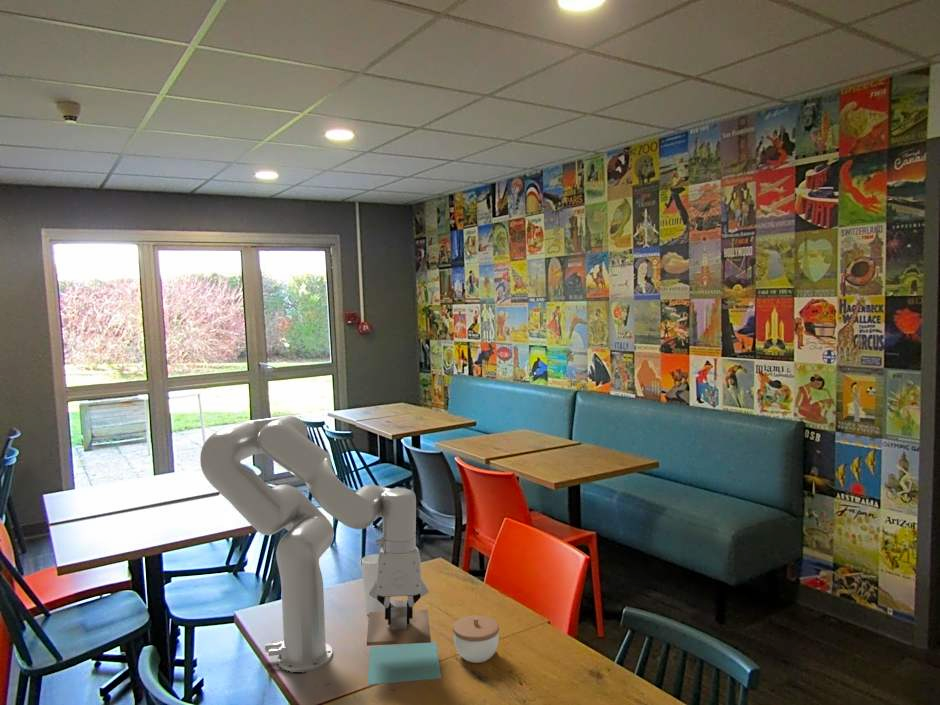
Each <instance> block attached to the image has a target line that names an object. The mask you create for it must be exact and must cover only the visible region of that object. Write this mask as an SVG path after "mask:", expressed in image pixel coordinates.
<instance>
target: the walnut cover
mask: <svg viewBox="0 0 940 705" xmlns="http://www.w3.org/2000/svg"><path fill="white" fill-rule="evenodd" d="M407 600H408V599H405V600H404V599H403V600H390V603H391V624H390V625H388V620H385V612H369V615H368V620H367V621H368V622H367V632H366V634H367V635H366V646H367V647H368V646H370V647H373V646H389V645H401V644H413V643H431V642H432V636H431V628H430V621H429V612H428V609H417V610H416V609H415V610H414V609H413V618H412V619H410V624H407Z"/></svg>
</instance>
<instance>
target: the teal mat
mask: <svg viewBox="0 0 940 705" xmlns="http://www.w3.org/2000/svg"><path fill="white" fill-rule="evenodd" d="M441 678H442V675H441V668H440V661H439V652H438V645H437V641H431V643H413V644H393V645H376V646H370V647H369V660H368V674H367V686H369V685H371V686H372V685H381V684H392V683H403V682H404V683H405V682H414V681H425V680H436V679H437V680H438V679H441Z"/></svg>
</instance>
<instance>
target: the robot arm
mask: <svg viewBox="0 0 940 705" xmlns="http://www.w3.org/2000/svg"><path fill="white" fill-rule="evenodd" d="M308 434H309V433H308V428H307V425H306V424H305V422H304V421H303V420H301V419H300V418H299V417H296V416H293V415H284V416H277V417H271V418H269V417H268V418H263V419H254V420H246V421H243V422H239V423H236V424H234V425H231V426H227V427H225V428H222V429H220V430H218V431H215V433H213V434H211V435H210V436H209V437H208V438H207V439H206V440H205V442H204V443H203V446H202V448H201V451H200V458H199V460H200V467H201V471H202V473H203V475H204V477H205V479H206V480H207V481H208V482H209V484H210V485H211V486H212V487H213V488H214V489H215V490H217V491H218V492H219V493H220V494H221V495H222V496H223V497H225V499H227V500H226V501H229V503H230V504H231V506H233V507H234V509H236V511H237V512H239V514H240V515H241V516H242V517H243V518H244V519H245V521H247V522H248V523H249V524H250V525H251V527H253V528H254V530H255V531H257V532H258V533H260V534H261V535H264V536H271V535H275V534H277V533H279V532H280V531H281V530H283V529H285V530H286V531H287V532H286V533H285V534H283V536H282V537H281V539H280V540H279V541H278V544H277V548H276V551H275V552H276V556H275V557H276V563H277V568H278V572H279V577H280V578H279V579H280V587H281V588H280V590H281V604H282V606H281V608H282V629H283V632H282V633H283V640H279V642H268V643H267V642H266V643H265V645H264V652H265V653H268V656H269V657H274V656H277V665H278V664H279V665H278V667H279V666H280V667H281V668H282V670H283V669H284V670H283V671H285V670H287V671H286V672H288V671H290V672H289V673H293V672H302V673H307V672H309V671H313V670H316V669H318V668H321V667H323V666H325V665H326V664H327V663H329V661H331V660H332V658H333V655H334V653H333V652H334V651H333V650H334V649H333V647H332V646H331V645H330V644H329V643H326V621H325V620H326V618H325V616H326V615H325V599H324V597H325V596H324V582H323V581H324V580H323V574H322V571H321V567H320V558H321V557H322V556H323V555H324V553H326V552H327V550H328V549H329V548H330V547H331V545H332V544H333V543H334V542H333V541H334V537H335V532H334V531H335V530H334V528H333V525H332V523H331V521H330V520H329V519H328V518H327V517H326V516H325V515H324V513H323V512H321V511H320V509H319V508H318V507H317V506H316V505H315V504H314V503H313V502H312V501H311V500H310V499H309V498H308V497H307V495H305V494H304V493H303V492H302V491H301V490H299V489H298V488H297V487H295V486H292V485H289V484H278V485H275V486H273V487H270V486H269V485H268V484H267V483H266V482H265V481H264V480H262V478H261V477H260V476H259V475H258V474H257V473H256V472H254V471H252V469H249V468H248V467H245V466H244V464H242V462H241V461H243V460H245V459H247V458H249V457H251V456H254V455H260V454H264V455H265V456H267V457H268V458H270V459H271V461H273V462H275V463H276V464H277V465H279V466H280V467H282V468H283V469H285V470H286V471H287V472H289V473H290V474H292V475H293V476H295V477H296V478H297V479H299V480H300V481H301V482H303V483H304V484H305V485H306V487H307V488H308V491H309V492H310V494H311V495H312V497H313V498H314V500H315V501H316V502H317V504H318V505H319V507H321V509H322V510H324V511H325V512H326V513H327V514H329V515H330V516H332V517H333V519H336V520H337V521H338V522H340V523H341V524H343V525H344V526H346V527H348V528H350V529H353V530H364V529H366V528H368V527H369V526H371V525H372V524H373V523H374V522H375V520H377V519H378V518H382V537H381V538H379V539H378V538H377V539H376V540H375V543H376V544H375V546H379V547H380V549H379V553H378V554H379V556H378V563H377V579H376V581H375V582H374V584H373V586H372V587H371V589H370V590H369V595H370V596H372V597H373V598H375V599H377V600H378V601H379V602H380V603H381V604H382V605H384V607H385V620H388V625H390V624H391V597H392V598H394V597H407V599H406V600H407V624H410V619H412V618H413V610H414V609H413V608H414V606H415V604H416V603H417V602H418V601H419V600H420V599H421V598H422V597H424V596H425V595H427V594H428V593H429V592H430V591H429V588H428V586H427V584H426V583H425V581H424V579H423V578H422V564H421V562H422V561H421V556H420V551H419V548H418V547H417V546H416V544H417V542H416V540H417V538H416V536H417V534H416V532H417V530H416V527H417V526H416V524H417V521H416V520H417V519H416V518H417V515H416V514H417V496H416V493H415V492H414V491H413V490H411V489H409V488H403V487H402V488H399V487H398V488H396V487H395V488H389V487H385V486H380V485H375V484H366V485H363V486H362V487H360V488H359V489H358V490H357V491H354V490H352V489H351V488H349V486H347V485H345V484H344V483H343V482H342V481H341V480H340V479H339V478H338V477H337V475H336V473H335V472H334V469H333V467H332V466H333V464H332V457H331V455H330V453H329V452H328V451H326V450H325V449H323V448H322V447H320V445H318V444H316V443H315V442H314V441H312V440H310V438H308ZM280 667H279V668H280ZM281 668H280V669H281Z"/></svg>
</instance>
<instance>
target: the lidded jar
mask: <svg viewBox="0 0 940 705" xmlns="http://www.w3.org/2000/svg"><path fill="white" fill-rule="evenodd" d="M452 628H453V629H452V631H453V641H454V647H455V649H456V651H457V652H458V654H459V656H460V657H461V658H462V659H463V660H465V661H466V662H469V663H471V664H479V663H481V664H482V663H484V662H486V661H488V660H490V659H491V658H492V657H493V656H494V655H495V653H496V651H497V649H498V645H499V637H500V634H499V633H500V632H499V631H500V625H499V622H498V621H497V620H496V619H495V618H494V617H493V618H492V617H490V616H486V615H480V614H476V615H475V614H474V615H472V614H471V615H468V616H463V617H461V618H459V619H457V620H456V621H455V622H454V624H453V625H452Z"/></svg>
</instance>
